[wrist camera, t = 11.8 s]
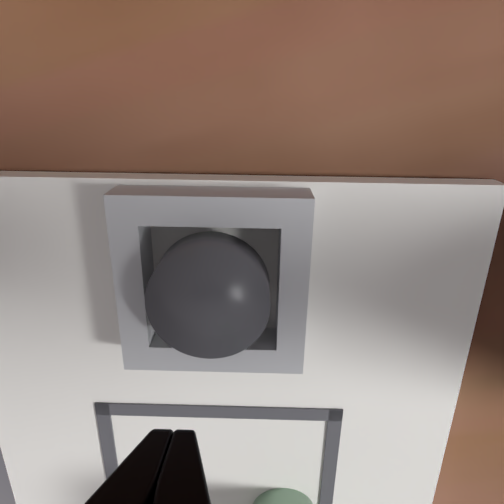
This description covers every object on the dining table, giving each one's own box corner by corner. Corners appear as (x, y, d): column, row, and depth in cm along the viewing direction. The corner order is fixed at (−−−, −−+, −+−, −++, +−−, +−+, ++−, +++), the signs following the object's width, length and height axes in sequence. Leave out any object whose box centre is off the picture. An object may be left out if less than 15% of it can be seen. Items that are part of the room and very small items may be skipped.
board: (493, 178, 15) (535, 196, 13) (409, 549, 23) (426, 603, 20) (-55, 169, 16) (-111, 184, 13) (39, 537, 23) (14, 588, 21)
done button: (271, 232, 14) (272, 248, 13) (268, 335, 15) (269, 360, 14) (151, 229, 14) (139, 246, 13) (159, 332, 16) (149, 357, 14)
